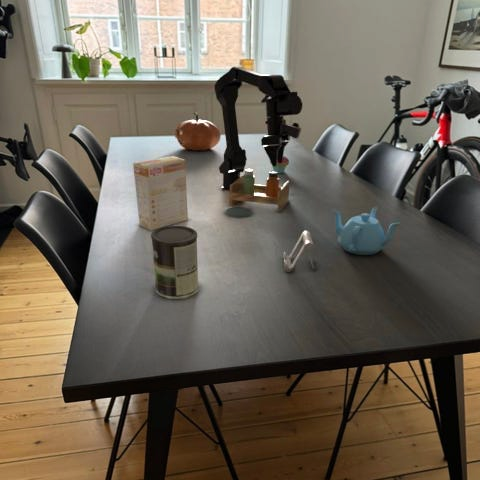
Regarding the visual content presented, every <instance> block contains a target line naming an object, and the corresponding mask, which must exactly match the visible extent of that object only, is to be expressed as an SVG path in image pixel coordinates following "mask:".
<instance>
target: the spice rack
mask: <svg viewBox="0 0 480 480" xmlns="http://www.w3.org/2000/svg"><path fill="white" fill-rule="evenodd" d="M240 176H241V177H240V178H239V179H237V180H236V181H235V182H234V183H232V184H231V185H230V190H229V207H234V205H235V204H236V203H237V202H238V201H239V202H249V203H257V204H258V203H259V204H267V205H275V206H277V212H278V213H281V212H282V210H283V209H284V207H285V206H286V205H287V204H288V202H289V197H290V186H291V185H290V184H291V181H290V180H287V181H286V182H285V183H284V184H283V186H279V190H278V196H277V197H269V196H266V185H264V184H256V183H255V184H254V194H243V193H242V178H243V175H240Z"/></svg>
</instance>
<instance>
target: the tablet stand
mask: <svg viewBox="0 0 480 480" xmlns="http://www.w3.org/2000/svg"><path fill="white" fill-rule="evenodd" d="M302 241H303V244H302V246H301V248H300V249H299V252H298V253H297V255H296V256H295V258H294V260H293V262H291V261H292V258H293V256H294V254H295V252H296V251H297V250H298V248H299V245H300V244H301V242H302ZM314 247H315V245H314V242H313V238H312V234H311V232H310V231H309V230H304V231H302V233H301V235H300V237H299V238H298V240H297V242H296V243H295V245H294V247H293V249H292V251H291V252H290V253H289V254H287V251H283V255H282V256H283V265H284V270H285V272H287V273H291V272H292V271H293V270H294V268H295V267H296V265H297V263H298V261H299V259H300V258H301V256H302V254H303V253H304V251H306V253H307V256H308V259H309V262H310V265H311V267H312V270H315V267H314V263H313V260H312V257H311V253H310V251H312V250H313V249H314Z"/></svg>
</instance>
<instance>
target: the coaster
mask: <svg viewBox="0 0 480 480" xmlns="http://www.w3.org/2000/svg"><path fill="white" fill-rule="evenodd" d="M252 213H253V211H252V210H251V208H248V207H245V206H230V207H228V208H226V209H225V214H226V216H229V217H232V218H247V217H249V216H252Z"/></svg>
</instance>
